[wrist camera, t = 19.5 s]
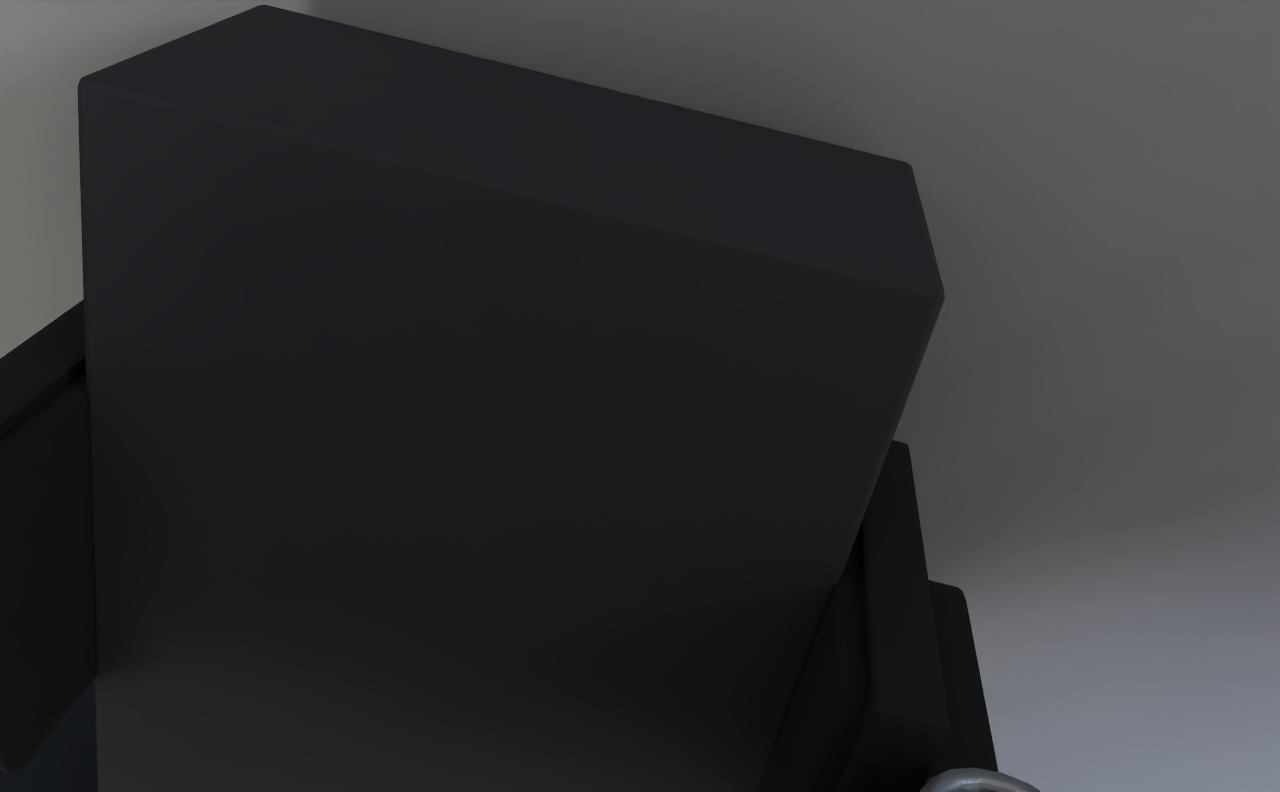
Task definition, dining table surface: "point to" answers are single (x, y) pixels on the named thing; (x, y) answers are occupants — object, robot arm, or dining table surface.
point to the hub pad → (62, 755)
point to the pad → (468, 416)
